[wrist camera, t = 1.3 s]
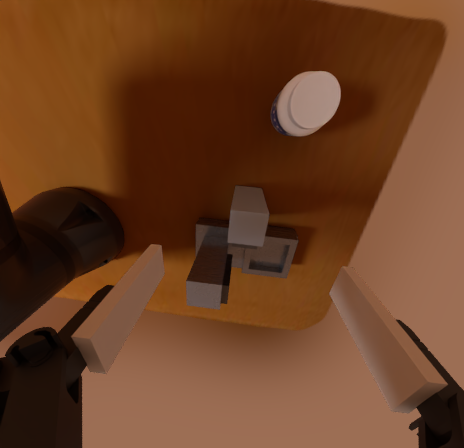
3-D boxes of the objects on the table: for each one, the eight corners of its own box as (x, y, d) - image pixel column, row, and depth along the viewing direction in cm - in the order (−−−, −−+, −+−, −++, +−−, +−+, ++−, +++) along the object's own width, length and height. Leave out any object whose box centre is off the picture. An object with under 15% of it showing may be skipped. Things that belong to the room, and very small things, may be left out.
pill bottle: (268, 91, 22) (281, 66, 14) (313, 82, 21) (355, 50, 13) (271, 139, 24) (283, 141, 16) (311, 132, 23) (345, 131, 15)
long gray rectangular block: (256, 216, 29) (261, 252, 20) (232, 213, 29) (226, 248, 20) (261, 188, 27) (269, 214, 18) (235, 185, 27) (230, 209, 18)
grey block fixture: (199, 253, 33) (175, 313, 22) (199, 217, 30) (171, 266, 19) (283, 264, 33) (302, 329, 22) (293, 228, 30) (322, 285, 18)
